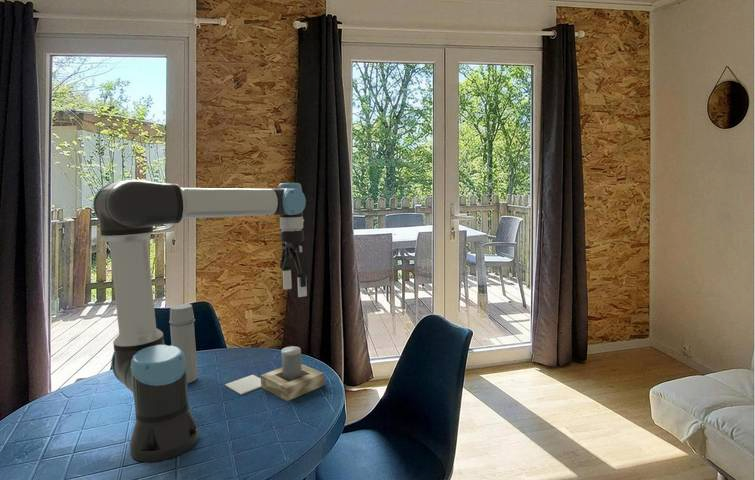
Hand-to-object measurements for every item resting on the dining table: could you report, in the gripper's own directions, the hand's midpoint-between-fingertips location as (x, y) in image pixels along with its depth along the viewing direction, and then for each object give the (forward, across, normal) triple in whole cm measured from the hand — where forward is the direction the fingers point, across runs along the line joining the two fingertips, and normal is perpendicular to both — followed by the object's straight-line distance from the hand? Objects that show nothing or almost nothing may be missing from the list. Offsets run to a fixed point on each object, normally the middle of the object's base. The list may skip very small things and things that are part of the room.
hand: (294, 292), depth 149 cm
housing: (+27, -11, +6) cm, 30 cm away
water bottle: (+28, +14, +33) cm, 45 cm away
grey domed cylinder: (+27, -11, +6) cm, 30 cm away
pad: (+27, -2, +18) cm, 33 cm away
